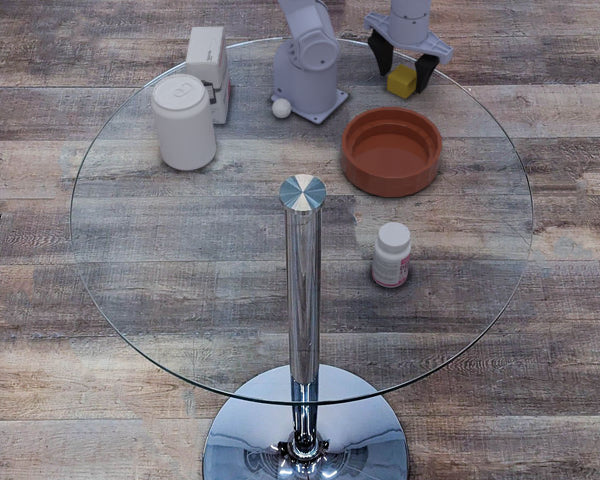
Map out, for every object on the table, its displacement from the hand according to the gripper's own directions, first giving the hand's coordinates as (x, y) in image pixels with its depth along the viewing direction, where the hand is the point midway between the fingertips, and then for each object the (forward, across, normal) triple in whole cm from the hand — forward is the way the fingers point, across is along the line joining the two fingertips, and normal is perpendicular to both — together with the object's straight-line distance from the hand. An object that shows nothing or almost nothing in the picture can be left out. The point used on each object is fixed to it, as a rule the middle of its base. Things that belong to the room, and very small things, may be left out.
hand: (403, 81), depth 136 cm
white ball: (+2, +11, +16) cm, 20 cm away
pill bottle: (+2, -19, +31) cm, 37 cm away
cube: (+1, 0, 0) cm, 1 cm away
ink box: (+2, +22, +21) cm, 30 cm away
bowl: (+1, -8, +15) cm, 16 cm away
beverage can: (+2, +18, +31) cm, 35 cm away
